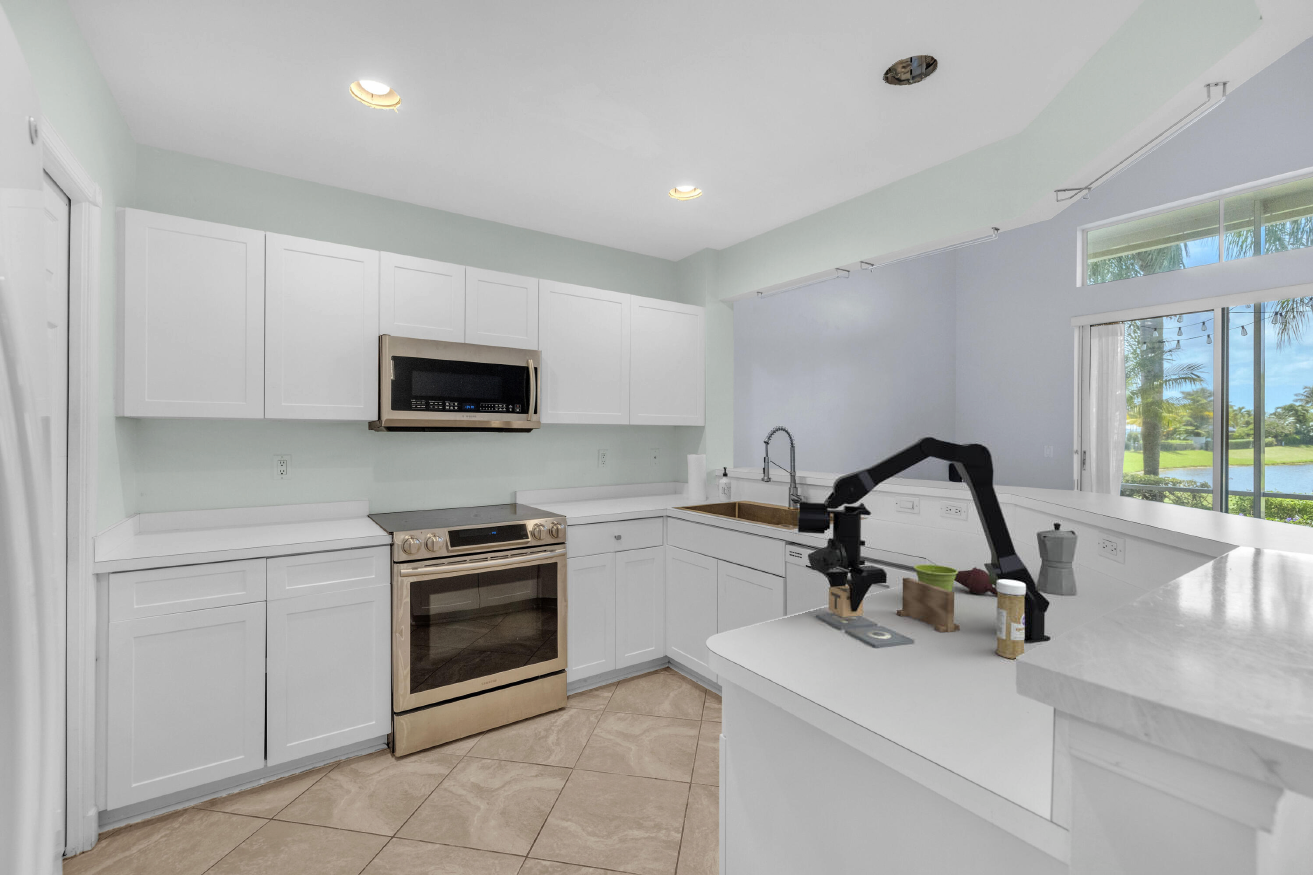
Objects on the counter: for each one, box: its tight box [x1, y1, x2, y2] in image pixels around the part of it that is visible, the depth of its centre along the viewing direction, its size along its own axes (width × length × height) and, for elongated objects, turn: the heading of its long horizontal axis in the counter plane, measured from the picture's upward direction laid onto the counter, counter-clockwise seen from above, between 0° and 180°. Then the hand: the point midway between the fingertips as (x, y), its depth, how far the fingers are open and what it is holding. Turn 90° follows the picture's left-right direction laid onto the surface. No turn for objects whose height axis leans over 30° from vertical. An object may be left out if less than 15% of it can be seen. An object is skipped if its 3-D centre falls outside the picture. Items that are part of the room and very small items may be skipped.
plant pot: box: [913, 564, 959, 592], centre depth 138 cm, size 9×9×9 cm
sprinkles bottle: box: [995, 579, 1026, 660], centre depth 105 cm, size 5×5×14 cm
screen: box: [896, 577, 961, 633], centre depth 124 cm, size 13×5×8 cm, turn 18°
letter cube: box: [828, 585, 864, 617], centre depth 124 cm, size 5×5×5 cm
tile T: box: [814, 612, 878, 631], centre depth 124 cm, size 9×9×1 cm
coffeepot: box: [1036, 522, 1078, 597], centre depth 153 cm, size 15×9×18 cm, turn 118°
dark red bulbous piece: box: [954, 566, 998, 597], centre depth 149 cm, size 7×7×15 cm
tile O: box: [844, 625, 915, 649], centre depth 114 cm, size 9×9×1 cm
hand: (845, 607), depth 124 cm, fingers closed on letter cube, 5 cm apart
